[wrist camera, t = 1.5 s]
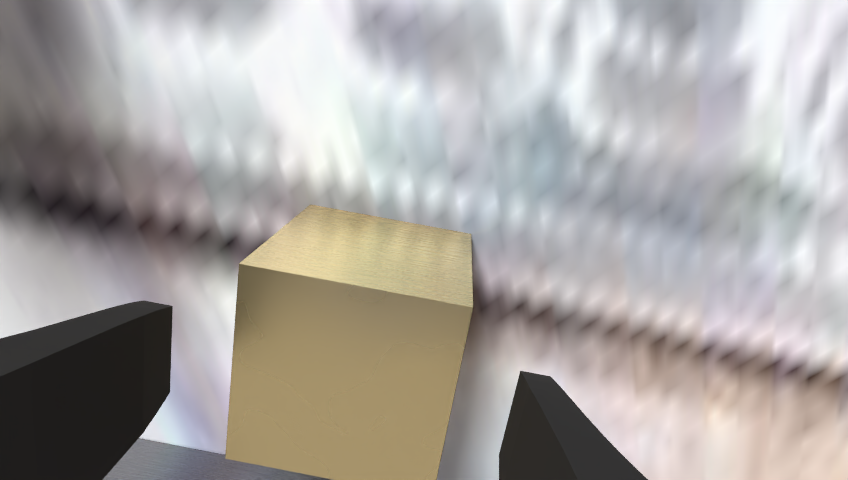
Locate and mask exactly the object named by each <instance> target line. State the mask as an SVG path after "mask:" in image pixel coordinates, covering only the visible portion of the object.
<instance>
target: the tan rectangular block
mask: <svg viewBox="0 0 848 480" xmlns="http://www.w3.org/2000/svg"><path fill="white" fill-rule="evenodd" d="M472 310H473V285H472V248H471V234H468V233H463V232H457V231H452V230H446V229H441V228H435V227H430V226H425V225H419V224H414V223H408V222H403V221H397V220H392V219H386V218H381V217H375V216H370V215H365V214H359V213H354V212H348V211H343V210H337V209H332V208H326V207H321V206H316V205H309V206H308V207H307V208H306V209H304V210H303V211H302V212H301V213H300V214H298V215H297V216H296V217H295V218H294V219H292V220H291V221H290V222H289V223H288V224H286V225H285V226H284V227H283V228H282V229H280V230H279V231H278V232H277V233H276V234H274V235H273V236H272V237H271V238H270V239H268V240H267V241H266V242H265V243H263V244H262V245H261V246H260V247H259V248H257V249H256V250H255V251H254V252H253V253H251V254H250V255H249V256H248V257H247V258H245V259H244V260H243V261H242V262H241V263H239V273H238V287H237V302H236V316H235V330H234V344H233V358H232V372H231V386H230V400H229V414H228V428H227V443H226V457H225V459H230V460H235V461H240V462H245V463H251V464H256V465H261V466H266V467H271V468H276V469H281V470H286V471H292V472H297V473H302V474H307V475H312V476H317V477H322V478H328V479H333V480H436V479H437V474H438V469H439V464H440V460H441V455H442V450H443V446H444V441H445V436H446V432H447V427H448V422H449V418H450V413H451V408H452V404H453V399H454V394H455V390H456V385H457V380H458V376H459V371H460V366H461V362H462V357H463V352H464V348H465V343H466V338H467V334H468V329H469V324H470V320H471V315H472Z"/></svg>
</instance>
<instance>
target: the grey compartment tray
mask: <svg viewBox="0 0 848 480" xmlns="http://www.w3.org/2000/svg"><path fill="white" fill-rule="evenodd" d="M225 457H226V455H221V454H216V453H211V452H206V451H201V450H196V449H191V448H185V447H180V446H175V445H170V444H165V443H160V442H155V441H150V440H144V439H139V438H138V439H137V441H136V442H135V443H134V444H133V445H132V447H131V448H130V449H129V450H128V451H127V452H126V453H125V455H124V456H123V457H122V458H121V459H120V460H119V461H118V463H117V464H116V465H115V466H114V467H113V468H112V469H111V471H110V472H109V473H108V474H107V475H106V476H105V477H104V479H103V480H333V479H328V478H322V477H317V476H312V475H307V474H302V473H297V472H292V471H286V470H281V469H276V468H271V467H266V466H261V465H256V464H251V463H245V462H240V461H235V460H230V459H225Z"/></svg>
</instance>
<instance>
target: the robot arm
mask: <svg viewBox="0 0 848 480" xmlns="http://www.w3.org/2000/svg"><path fill="white" fill-rule="evenodd" d="M171 337H172V306H169V305H164V304H159V303H153V302H148V301H139V302H133V303H128V304H124V305H120V306H116V307H112V308H108V309H105V310H101V311H98V312H94V313H91V314H87V315H84V316H80V317H77V318H74V319H70V320H67V321H63V322H60V323H56V324H53V325H49V326H46V327H43V328H39V329H35V330H32V331H28V332H24V333H20V334H16V335H12V336H9V337H5V338H1V339H0V480H103V479H104V477H105V476H106V475H107V474H108V473H109V472H110V471H111V469H112V468H113V467H114V466H115V465H116V464H117V463H118V461H119V460H120V459H121V458H122V457H123V456H124V455H125V453H126V452H127V451H128V450H129V449H130V448H131V447H132V445H133V444H134V443H135V442H136V441H137V439H138V438H139V437H140V436H141V435H142V434H143V432H144V431H145V429H146V428H147V426H148V425H149V423H150V422H151V421H152V419H153V418H154V416H155V415H156V413H157V412H158V410H159V408H160V407H161V405H162V404H163V402H164V401H165V399H166V397H167V396H168V394H169V393H170V370H171ZM499 480H648V479H646V478H645V477H644V476H643V475H642V474H641V473H640V472H639V471H638V470H637V469H636V468H635V467H634V466H633V465H632V464H631V463H630V462H629V461H628V460H627V459H626V458H625V457H624V456H623V455H622V454H621V453H620V452H619V451H618V450H617V449H616V448H615V447H614V446H613V445H612V444H611V443H610V442H609V441H608V440H607V439H606V438H605V437H604V436H603V434H602V433H601V432H600V431H599V430H598V429H597V428H596V427H595V426H594V425H593V424H592V422H591V421H590V420H589V419H588V418H587V417H586V416H585V415H584V413H583V412H582V411H581V410H580V409H579V408H578V407H577V405H576V404H575V403H574V402H573V401H572V400H571V399H570V397H569V396H568V395H567V394H566V393H565V392H564V391H563V389H562V388H561V387H560V386H559V385H558V384H557V383H556V382H555V381H554V380H553V379H552V378H551V377H550V376H545V375H540V374H534V373H529V372H523V371H520V375H519V379H518V382H517V386H516V390H515V394H514V398H513V402H512V406H511V410H510V414H509V418H508V422H507V426H506V430H505V434H504V438H503V442H502V446H501V450H500V453H499Z"/></svg>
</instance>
